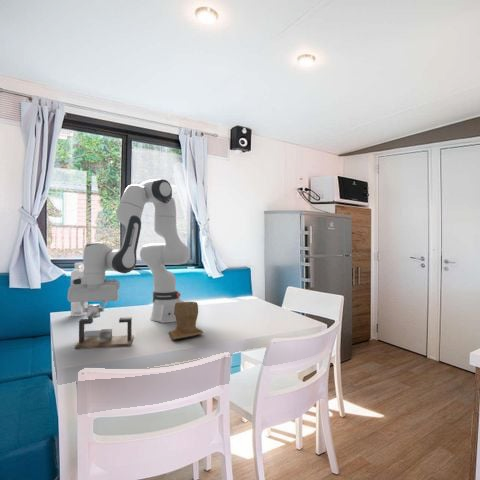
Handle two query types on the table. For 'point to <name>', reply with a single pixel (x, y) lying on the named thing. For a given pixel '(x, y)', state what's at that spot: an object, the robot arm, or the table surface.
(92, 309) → the grey crossbar piece
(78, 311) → the bottle
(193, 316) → the brown upright based slab
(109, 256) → the robot arm
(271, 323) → the table surface
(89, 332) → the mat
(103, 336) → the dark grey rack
